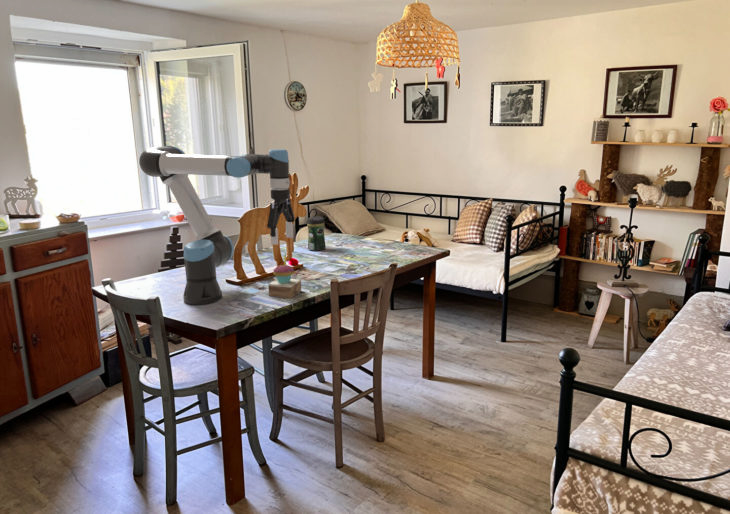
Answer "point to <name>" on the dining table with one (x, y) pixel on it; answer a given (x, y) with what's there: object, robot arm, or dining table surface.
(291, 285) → the pedestal
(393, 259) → the dining table surface
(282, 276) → the cupcake
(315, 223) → the coffee jar
